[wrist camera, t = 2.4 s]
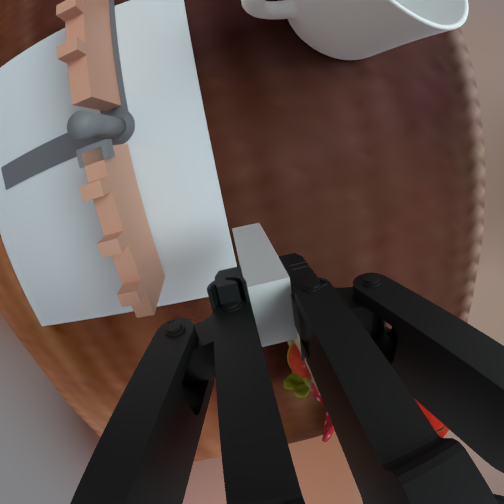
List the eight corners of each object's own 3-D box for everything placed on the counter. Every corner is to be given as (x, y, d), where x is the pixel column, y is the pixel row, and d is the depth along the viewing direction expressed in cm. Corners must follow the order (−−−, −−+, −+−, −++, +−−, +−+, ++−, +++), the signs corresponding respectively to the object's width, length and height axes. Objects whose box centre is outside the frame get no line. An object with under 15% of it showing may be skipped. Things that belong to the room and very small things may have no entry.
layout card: (-23, 79, 12) (-27, 79, 11) (180, -20, 13) (179, -23, 12) (43, 323, 22) (41, 326, 21) (241, 286, 23) (242, 290, 22)
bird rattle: (253, 324, 27) (290, 397, 27) (249, 372, 16) (303, 466, 16) (313, 296, 27) (345, 372, 27) (347, 327, 16) (384, 430, 16)
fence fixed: (94, 3, 12) (58, -34, 6) (111, -4, 12) (79, -44, 6) (112, 139, 17) (66, 143, 11) (129, 133, 17) (90, 133, 11)
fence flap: (107, 146, 16) (65, 152, 11) (131, 138, 17) (96, 139, 11) (147, 280, 21) (128, 330, 15) (168, 275, 21) (156, 326, 15)
